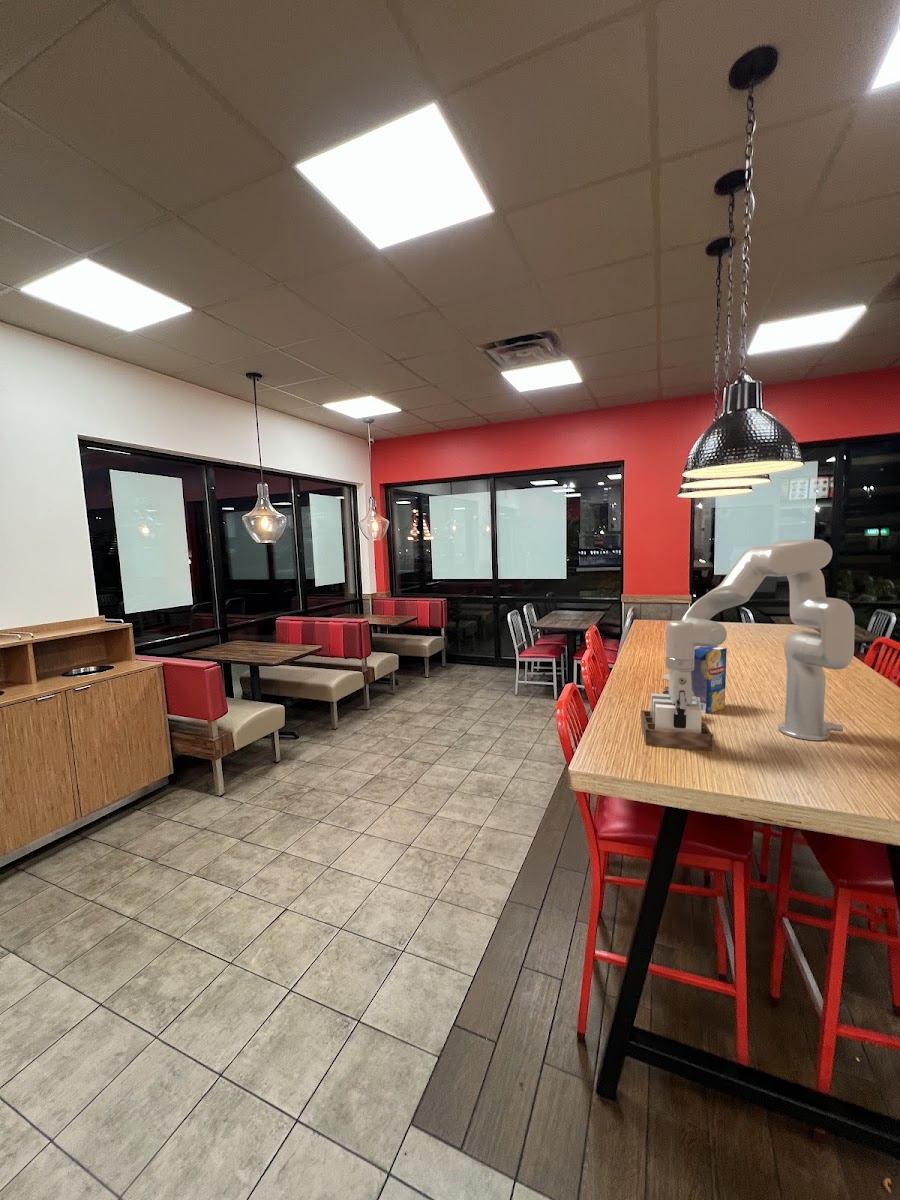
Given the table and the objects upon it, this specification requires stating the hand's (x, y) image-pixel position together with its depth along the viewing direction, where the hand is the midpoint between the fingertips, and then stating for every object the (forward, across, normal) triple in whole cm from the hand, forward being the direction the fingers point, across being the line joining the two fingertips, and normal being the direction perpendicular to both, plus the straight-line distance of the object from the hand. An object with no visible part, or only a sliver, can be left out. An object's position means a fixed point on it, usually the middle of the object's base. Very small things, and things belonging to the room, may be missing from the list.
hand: (678, 723), depth 139 cm
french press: (+6, +24, -3) cm, 26 cm away
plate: (+5, +1, 0) cm, 5 cm away
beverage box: (+6, +37, -15) cm, 41 cm away
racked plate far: (+6, +12, 0) cm, 14 cm away
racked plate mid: (+6, +6, 0) cm, 9 cm away
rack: (+6, +6, 0) cm, 9 cm away
